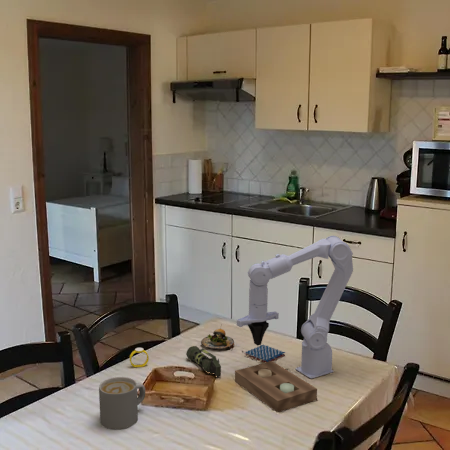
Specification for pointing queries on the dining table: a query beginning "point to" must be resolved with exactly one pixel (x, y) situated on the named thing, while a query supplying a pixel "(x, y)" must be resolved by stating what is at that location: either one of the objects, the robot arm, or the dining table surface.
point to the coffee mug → (119, 402)
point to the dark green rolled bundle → (204, 360)
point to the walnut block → (275, 386)
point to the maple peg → (264, 373)
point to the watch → (139, 350)
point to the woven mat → (264, 354)
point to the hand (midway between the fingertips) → (257, 344)
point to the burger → (218, 340)
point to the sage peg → (286, 387)
